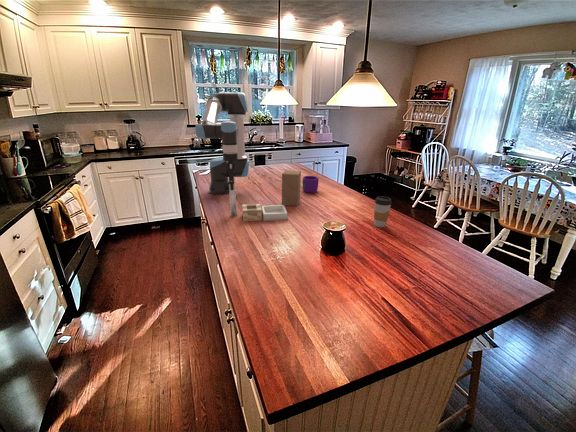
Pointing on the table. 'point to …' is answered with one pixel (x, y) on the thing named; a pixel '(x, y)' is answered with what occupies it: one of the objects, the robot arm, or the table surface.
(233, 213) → the glass vial with cap
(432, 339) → the table surface
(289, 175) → the wooden block
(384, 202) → the coffee cup
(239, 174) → the robot arm
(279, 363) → the table surface
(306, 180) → the mug
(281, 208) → the tray
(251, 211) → the hollow square frame
